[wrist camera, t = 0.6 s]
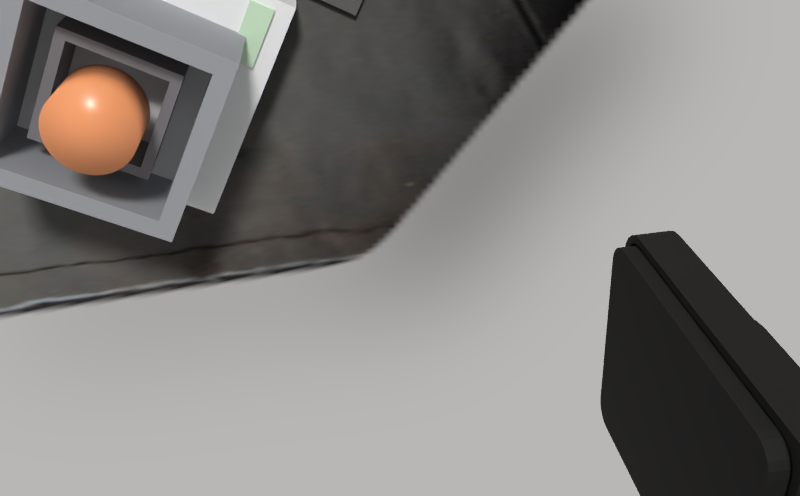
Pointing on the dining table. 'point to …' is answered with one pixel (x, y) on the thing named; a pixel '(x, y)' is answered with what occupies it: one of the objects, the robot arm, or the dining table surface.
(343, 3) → the mat
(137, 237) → the dining table surface
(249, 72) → the box
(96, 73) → the button
